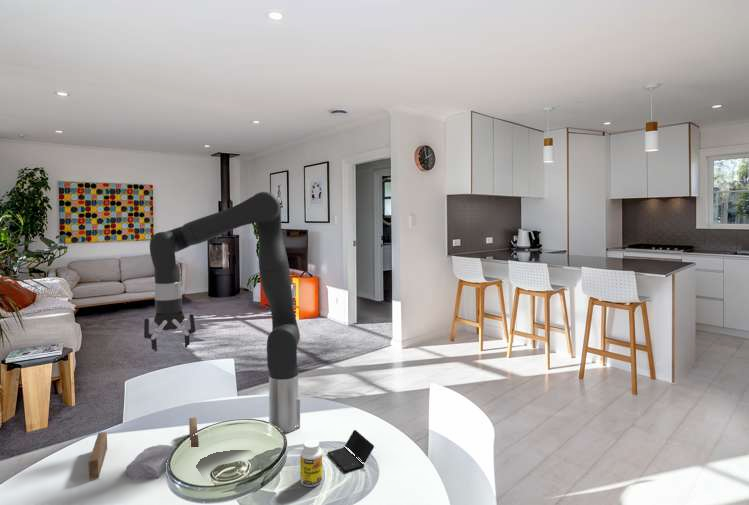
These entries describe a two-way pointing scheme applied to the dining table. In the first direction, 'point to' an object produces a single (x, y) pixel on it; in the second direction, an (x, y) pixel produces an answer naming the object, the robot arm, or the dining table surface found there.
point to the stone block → (150, 462)
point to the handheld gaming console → (348, 460)
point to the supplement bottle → (311, 464)
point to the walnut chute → (101, 449)
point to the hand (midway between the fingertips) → (171, 348)
